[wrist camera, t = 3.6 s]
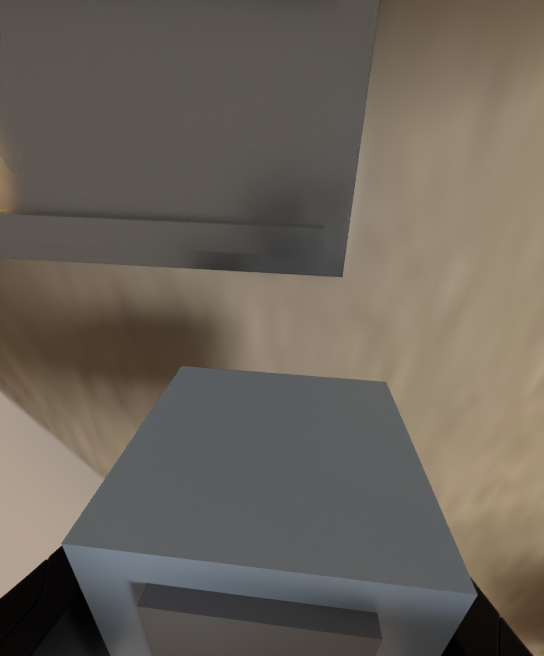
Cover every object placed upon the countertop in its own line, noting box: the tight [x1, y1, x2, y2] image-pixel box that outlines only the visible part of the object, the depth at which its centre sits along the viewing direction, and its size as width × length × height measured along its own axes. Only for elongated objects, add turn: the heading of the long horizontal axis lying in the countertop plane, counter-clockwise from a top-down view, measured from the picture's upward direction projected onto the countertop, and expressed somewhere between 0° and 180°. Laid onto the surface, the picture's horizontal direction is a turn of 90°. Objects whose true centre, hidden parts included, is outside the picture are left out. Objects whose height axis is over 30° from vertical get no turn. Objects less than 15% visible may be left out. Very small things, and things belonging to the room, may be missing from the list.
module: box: [61, 366, 477, 656], centre depth 8 cm, size 6×6×5 cm
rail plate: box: [0, 0, 380, 277], centre depth 9 cm, size 20×13×4 cm, turn 88°
